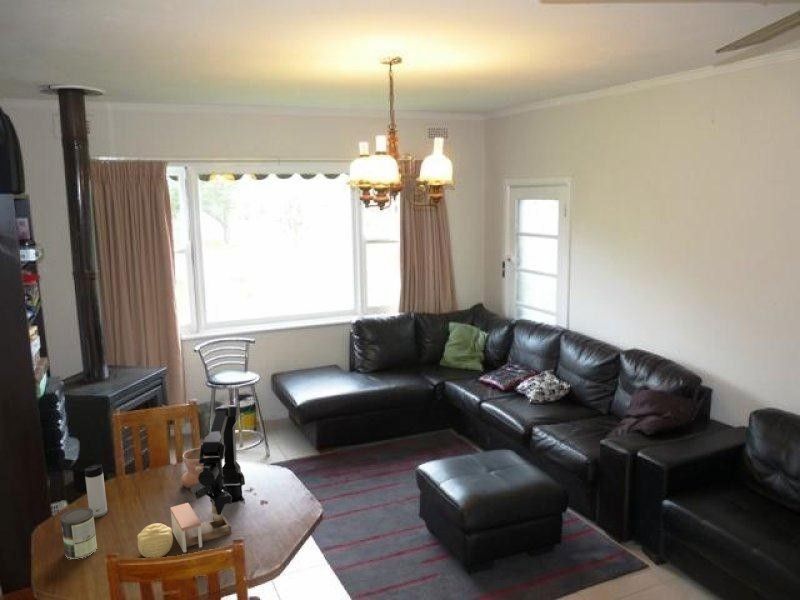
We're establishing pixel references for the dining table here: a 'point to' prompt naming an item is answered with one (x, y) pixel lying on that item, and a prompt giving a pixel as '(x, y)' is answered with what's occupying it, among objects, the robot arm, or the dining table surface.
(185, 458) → the ceramic jug
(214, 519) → the peg
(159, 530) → the sculpture
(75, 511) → the coffee can
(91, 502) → the travel mug
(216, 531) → the socket block
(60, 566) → the dining table surface
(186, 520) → the footed pink board
